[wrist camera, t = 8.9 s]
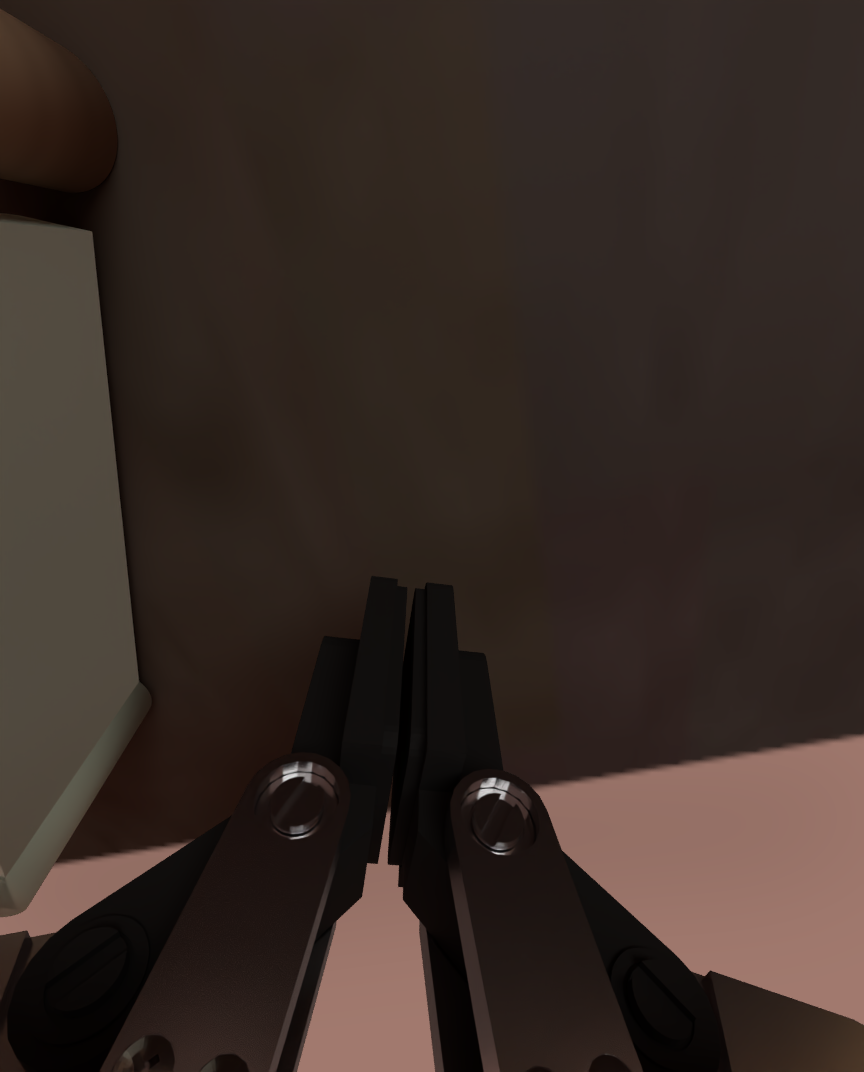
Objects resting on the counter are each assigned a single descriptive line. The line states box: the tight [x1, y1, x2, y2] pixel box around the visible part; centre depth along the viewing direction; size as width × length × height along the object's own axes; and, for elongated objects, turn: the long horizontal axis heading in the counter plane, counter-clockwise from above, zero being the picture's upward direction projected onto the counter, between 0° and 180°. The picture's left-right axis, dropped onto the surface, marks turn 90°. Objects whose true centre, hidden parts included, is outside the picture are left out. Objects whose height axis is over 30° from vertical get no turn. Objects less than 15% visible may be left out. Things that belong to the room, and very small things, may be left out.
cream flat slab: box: [0, 213, 152, 917], centre depth 9 cm, size 12×2×5 cm, turn 168°
